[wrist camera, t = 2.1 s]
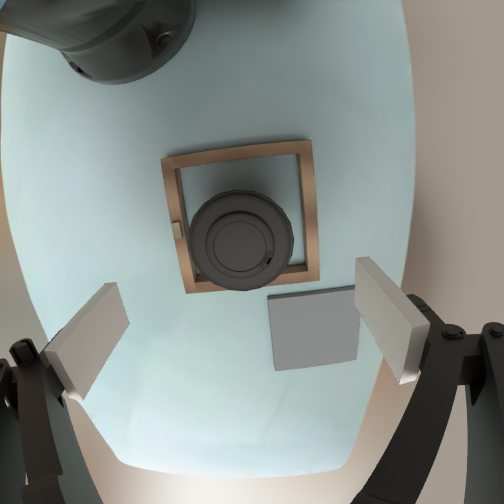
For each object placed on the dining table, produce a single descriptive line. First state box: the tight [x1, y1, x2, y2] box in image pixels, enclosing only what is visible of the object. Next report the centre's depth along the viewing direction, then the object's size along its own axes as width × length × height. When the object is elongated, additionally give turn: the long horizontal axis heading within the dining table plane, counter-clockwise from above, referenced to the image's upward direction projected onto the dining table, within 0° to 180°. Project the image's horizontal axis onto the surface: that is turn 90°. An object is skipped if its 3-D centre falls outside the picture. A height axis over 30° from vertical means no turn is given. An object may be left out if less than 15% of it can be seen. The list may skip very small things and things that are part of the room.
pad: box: [268, 286, 360, 371], centre depth 35 cm, size 11×11×1 cm
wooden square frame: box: [161, 140, 320, 294], centre depth 30 cm, size 14×14×3 cm
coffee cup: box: [188, 190, 294, 291], centre depth 26 cm, size 8×8×10 cm
